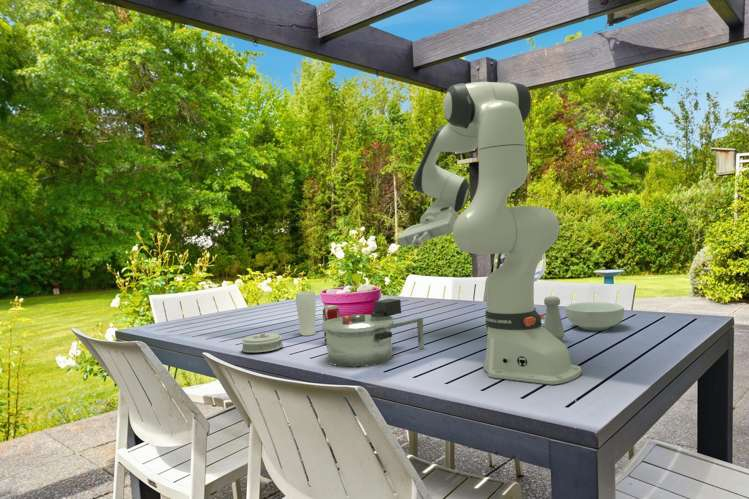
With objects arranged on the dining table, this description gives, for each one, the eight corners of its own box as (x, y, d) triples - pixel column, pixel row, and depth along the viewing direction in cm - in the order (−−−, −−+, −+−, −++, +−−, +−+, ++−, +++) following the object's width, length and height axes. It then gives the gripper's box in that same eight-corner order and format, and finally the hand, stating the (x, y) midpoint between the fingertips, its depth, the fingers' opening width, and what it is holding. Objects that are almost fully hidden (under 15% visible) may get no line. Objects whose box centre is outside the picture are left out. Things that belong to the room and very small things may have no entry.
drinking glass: (320, 332, 184) (317, 290, 184) (314, 336, 178) (311, 293, 177) (302, 332, 186) (299, 291, 185) (295, 336, 179) (292, 294, 178)
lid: (281, 353, 156) (279, 337, 156) (238, 357, 156) (237, 340, 155) (284, 344, 169) (283, 329, 169) (246, 347, 168) (244, 332, 168)
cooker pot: (432, 349, 148) (430, 318, 148) (363, 372, 129) (361, 336, 129) (378, 340, 164) (376, 312, 164) (310, 359, 146) (308, 328, 145)
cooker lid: (420, 319, 146) (419, 301, 146) (354, 335, 129) (353, 315, 129) (372, 313, 161) (371, 297, 161) (307, 328, 144) (306, 309, 144)
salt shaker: (545, 338, 152) (543, 295, 152) (566, 339, 150) (564, 295, 149) (541, 343, 147) (539, 298, 147) (562, 344, 145) (560, 298, 144)
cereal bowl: (556, 330, 164) (555, 308, 163) (581, 321, 175) (580, 300, 174) (610, 336, 151) (609, 312, 151) (633, 326, 162) (632, 304, 162)
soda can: (338, 345, 162) (336, 307, 162) (322, 345, 163) (320, 307, 163) (343, 341, 167) (340, 304, 167) (327, 341, 168) (325, 305, 168)
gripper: (404, 221, 170) (385, 242, 160) (456, 204, 157) (439, 226, 147) (413, 237, 172) (395, 259, 162) (465, 222, 159) (449, 244, 149)
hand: (416, 243), depth 155 cm, fingers closed
